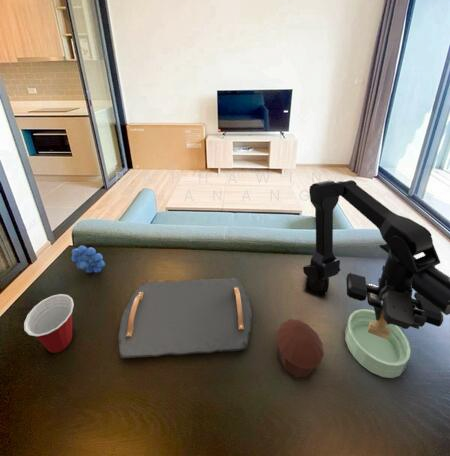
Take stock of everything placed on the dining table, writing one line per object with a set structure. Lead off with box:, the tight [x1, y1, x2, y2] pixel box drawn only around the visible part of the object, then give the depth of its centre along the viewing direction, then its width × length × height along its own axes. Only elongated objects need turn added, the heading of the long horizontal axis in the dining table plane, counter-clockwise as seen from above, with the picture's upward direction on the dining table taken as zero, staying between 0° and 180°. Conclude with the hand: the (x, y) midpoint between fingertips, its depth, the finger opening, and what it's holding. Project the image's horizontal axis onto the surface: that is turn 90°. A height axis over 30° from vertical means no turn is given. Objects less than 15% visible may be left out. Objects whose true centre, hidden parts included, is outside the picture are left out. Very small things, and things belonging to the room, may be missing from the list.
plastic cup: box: [23, 293, 75, 354], centre depth 66 cm, size 11×11×12 cm
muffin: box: [276, 318, 325, 379], centre depth 63 cm, size 12×11×10 cm
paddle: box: [368, 303, 390, 339], centre depth 61 cm, size 4×2×11 cm, turn 66°
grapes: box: [70, 245, 106, 274], centre depth 88 cm, size 12×7×12 cm, turn 88°
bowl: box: [344, 308, 411, 379], centre depth 66 cm, size 14×14×6 cm
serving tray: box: [117, 277, 253, 359], centre depth 73 cm, size 39×23×6 cm, turn 94°
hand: (381, 320), depth 62 cm, fingers closed on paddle, 2 cm apart
